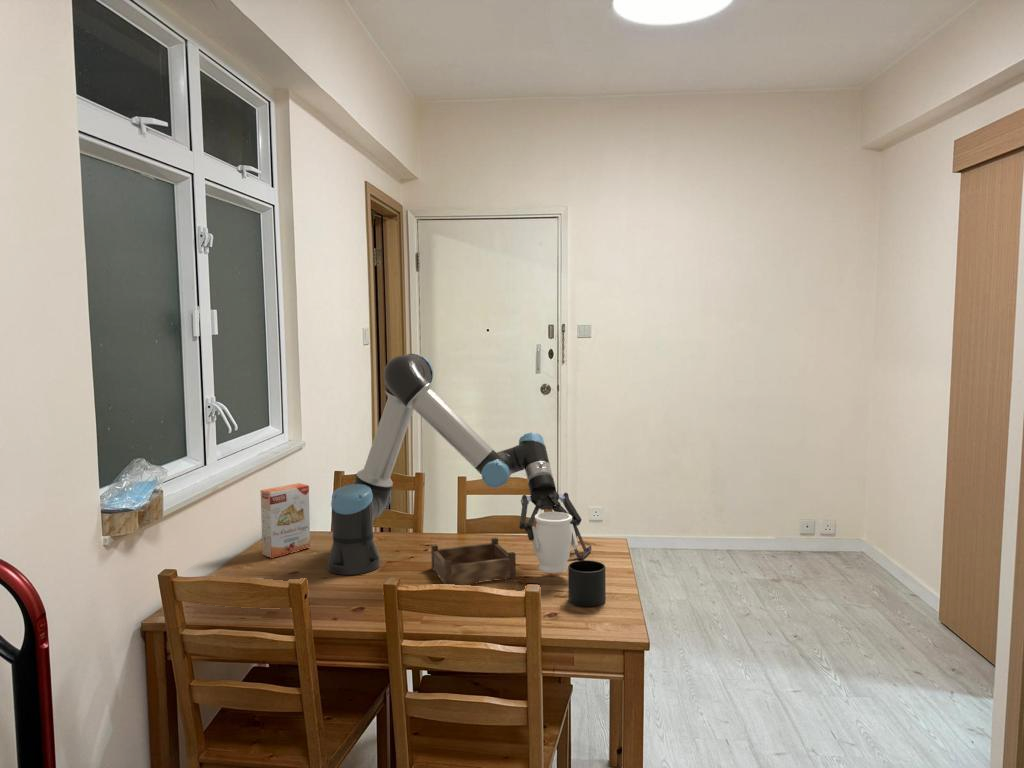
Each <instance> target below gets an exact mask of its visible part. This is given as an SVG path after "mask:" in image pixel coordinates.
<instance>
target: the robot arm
mask: <svg viewBox="0 0 1024 768" xmlns="http://www.w3.org/2000/svg"><path fill="white" fill-rule="evenodd" d="M433 378H434V369H433V366H432V364H431V362H430V361H429V360H428V359H427V358H426V357H424V356H422V355H420V354H416V353H407V354H402V355H397V356H395V357H393V358H392V359H390V360H389V361H388V362H387V363H386V365H385V368H384V369H383V381H384V384H385V386H386V387H385V389H384V392H385V394H386V396H387V400H386V402H385V406H384V408H383V412H382V415H381V417H380V420H379V423H378V426H377V429H376V432H375V435H374V437H373V441H372V443H371V447H370V449H369V451H368V452H369V453H368V455H367V458H366V461H365V464H364V467H363V469H361V470H358V471H357V473H356V476H355V478H354V481H353V483H352V484H346V485H344V486H340V487H337V488H336V489H335V490H334V491H333V492H332V495H331V502H330V507H331V523H332V524H331V525H332V527H331V528H332V545H331V548H330V552H329V556H328V559H327V570H328V572H330V573H332V574H336V575H342V576H350V575H351V576H353V575H362V574H367V573H369V572H373V571H374V570H375V571H376V570H377V569H379V567H380V566H381V557H380V553H379V551H378V548H377V545H376V543H375V540H374V520H375V519H377V518H378V517H380V516H381V515H382V514H383V513H385V512H386V510H387V509H388V507H389V505H390V504H391V498H392V494H391V492H392V488H393V487H394V486H393V485H394V482H393V481H392V479H391V477H392V474H393V470H394V467H395V465H396V462H397V459H398V457H399V456H398V455H399V453H400V451H401V447H402V446H403V445H402V444H403V442H404V439H405V435H406V433H407V430H408V428H409V427H408V426H409V424H410V422H411V418H412V415H413V412H414V411H416V413H418V414H419V416H420V417H421V418H422V419H424V420H425V421H426V422H427V424H429V425H430V426H431V427H432V428H433V429H434V431H436V432H437V433H438V434H439V435H440V436H441V437H442V438H443V439H444V440H445V441H446V442H447V443H449V445H450V446H451V447H452V448H453V449H454V450H455V451H456V452H458V454H459V455H461V456H462V457H463V459H465V461H467V462H468V463H469V464H470V465H471V466H472V467H473V468H474V469H475V470H476V471H477V472H478V473H479V474H480V476H481V478H482V481H483V483H484V484H485V485H486V486H488V487H490V488H493V489H495V488H496V489H497V488H500V487H503V486H504V485H505V484H507V483H508V481H509V479H510V477H511V475H512V474H515V473H517V472H521V471H524V472H525V475H526V480H527V483H528V484H527V485H528V489H529V494H530V495H526V494H522V496H521V499H520V503H521V513H520V520H519V527H518V528H519V529H520V530H525V532H526V534H527V538H528V540H529V541H532V547H533V550H534V553H535V554H536V552H538V550H539V543H538V538H537V534H536V529H535V527H536V525H535V526H534V525H533V524H534V521H535V515H536V514H538V513H539V510H541V511H544V510H552V512H563V513H567V514H570V515H571V516H572V521H571V522H570V524H571V529H572V544H571V548H572V550H573V551H574V550H575V549H576V548H577V549H578V546H579V543H578V530H579V529H578V530H577V528H578V527H579V526H580V524H581V522H582V517H581V515H580V514H579V513H578V511H577V509H576V508H575V506H574V504H573V503H572V501H571V499H570V498H569V493H568V492H564V493H563V494H562V493H561V494H560V493H558V492H557V490H556V489H557V488H556V483H555V480H554V477H553V473H552V468H551V465H550V464H551V463H550V460H549V455H548V451H547V446H546V444H545V441H544V438H543V436H542V435H541V434H540V433H538V432H533V431H531V432H527V433H524V434H523V435H522V436H520V438H519V440H518V445H517V444H516V445H515V446H513V447H510V448H507V449H504V450H500V451H498V452H496V451H495V450H494V449H493V447H491V445H489V444H488V443H487V442H486V441H485V440H484V439H483V438H482V437H481V436H480V435H479V434H478V433H477V432H476V430H475V429H473V428H472V427H471V426H470V425H468V423H467V422H466V421H465V420H464V419H463V418H462V417H460V415H458V413H457V412H456V411H454V409H453V408H452V407H451V406H450V405H448V404H447V403H446V402H445V401H444V400H443V399H442V398H441V397H440V396H439V395H438V394H437V393H436V392H435V391H434V390H433V389H432V381H433ZM558 500H560V501H558ZM530 502H531V503H532V504H533V505H534V506H535V507H534V509H533V511H532V514H531V515H530V518H529V521H528V522H526V520H527V519H526V518H527V512H528V505H529V503H530ZM560 502H561V503H563V505H562V504H561V503H560ZM563 506H564V507H563Z"/></svg>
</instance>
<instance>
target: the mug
mask: <svg viewBox="0 0 1024 768" xmlns="http://www.w3.org/2000/svg"><path fill="white" fill-rule="evenodd" d="M567 566H568V569H567V571H568V572H567V574H568V575H567V576H568V579H567V580H568V584H567V585H568V589H567V590H568V592H567V593H568V601H569V603H570V604H572V605H574V606H577V607H583V608H595V607H599V606H601V605H603V604H605V602H606V601H607V599H606V594H607V593H606V589H607V588H606V587H607V586H606V583H607V581H606V580H607V579H606V565H605V564H604V563H602V562H600V561H595V560H587V559H586V560H585V559H582V560H577V561H573V562H571V563H569V564H568V565H567Z"/></svg>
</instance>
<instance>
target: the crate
mask: <svg viewBox="0 0 1024 768" xmlns="http://www.w3.org/2000/svg"><path fill="white" fill-rule="evenodd" d="M490 539H491V541H490V542H489V543H488V542H487V543H480V544H479V543H478V544H471V545H464V546H463V545H461V546H454V547H445V548H439V546H438V544H436V543H435V544H430V549H431V551H430V552H431V553H430V554H431V557H430V559H431V569H434V570H435V571H436V573H437V574H438V575H439V576H440V578H441V579H442V580H443V582H444V583H445V584H455V585H461V586H467V585H473V584H472V583H475V584H477V583H476V582H479V581H485V580H495V579H505V578H506V579H505V580H508V579H507V578H514V579H516V578H517V577H516V576H517V570H516V563H517V562H516V552H514V551H513V552H512V551H511V552H508V551H507V550H506V549H504V548H503V546H501V545H500V544H499V538H498V537H491V538H490ZM434 570H433V571H434ZM435 571H434V572H435ZM436 573H435V574H436ZM437 574H436V575H437ZM438 575H437V576H438ZM515 577H516V578H515ZM440 578H439V579H440ZM441 579H440V580H441ZM443 582H442V583H443ZM444 583H443V584H444Z"/></svg>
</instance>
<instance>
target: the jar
mask: <svg viewBox="0 0 1024 768" xmlns="http://www.w3.org/2000/svg"><path fill="white" fill-rule="evenodd" d="M534 521H535V522H536V523H535V529H536V534H537V538H538V543H539V550H538V552H536V553H535V554H536V557H537V560H538V562H539V563H538V566H537V569H538V570H539V571H541V572H543V573H546V574H547V573H548V574H562V573H564V572H566V571H568V566H569V565H568V564H567V563H568V561H569V558H570V554H571V549H572V529H571V524H570V522H571V521H572V516H571V515H570V514H567V513H563V512H554V511H542V512H537V514H536V515H535V519H534Z"/></svg>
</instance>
